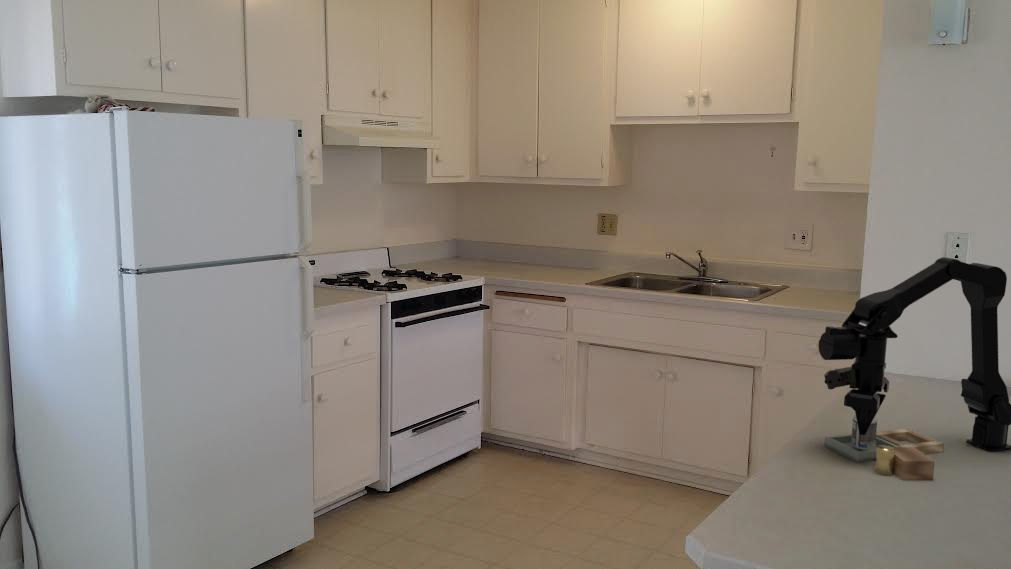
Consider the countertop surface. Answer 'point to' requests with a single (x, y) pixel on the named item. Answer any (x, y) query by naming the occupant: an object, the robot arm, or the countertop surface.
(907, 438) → the socket collar
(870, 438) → the pill bottle
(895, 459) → the brown cardboard box
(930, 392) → the countertop surface
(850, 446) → the tray
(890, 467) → the bench dog
